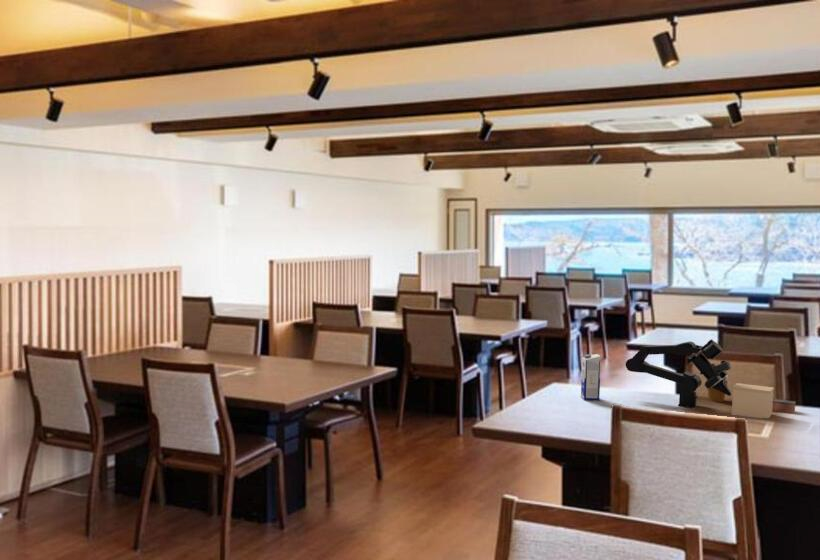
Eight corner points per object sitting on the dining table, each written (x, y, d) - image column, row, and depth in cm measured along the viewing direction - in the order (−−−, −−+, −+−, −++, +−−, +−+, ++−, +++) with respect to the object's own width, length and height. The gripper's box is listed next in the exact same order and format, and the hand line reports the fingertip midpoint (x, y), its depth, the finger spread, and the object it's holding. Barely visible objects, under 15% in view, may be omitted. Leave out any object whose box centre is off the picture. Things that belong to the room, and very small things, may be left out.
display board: (730, 415, 321) (730, 414, 321) (736, 409, 332) (736, 408, 332) (795, 424, 308) (795, 423, 308) (799, 418, 319) (799, 416, 319)
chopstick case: (741, 407, 336) (742, 397, 336) (743, 405, 341) (744, 395, 340) (793, 414, 325) (794, 403, 325) (795, 412, 329) (795, 401, 329)
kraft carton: (731, 413, 322) (732, 386, 322) (735, 409, 330) (736, 383, 330) (768, 418, 314) (770, 391, 314) (772, 414, 322) (774, 387, 322)
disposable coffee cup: (729, 400, 350) (730, 374, 349) (725, 404, 342) (726, 377, 341) (707, 398, 355) (708, 372, 354) (702, 401, 347) (704, 375, 346)
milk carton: (599, 400, 343) (601, 355, 342) (584, 400, 343) (585, 355, 342) (595, 397, 350) (597, 353, 349) (580, 396, 350) (582, 353, 349)
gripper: (714, 357, 321) (741, 387, 315) (723, 351, 336) (749, 380, 331) (693, 373, 325) (720, 403, 320) (703, 367, 341) (729, 396, 336)
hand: (730, 395), depth 327 cm, fingers closed
